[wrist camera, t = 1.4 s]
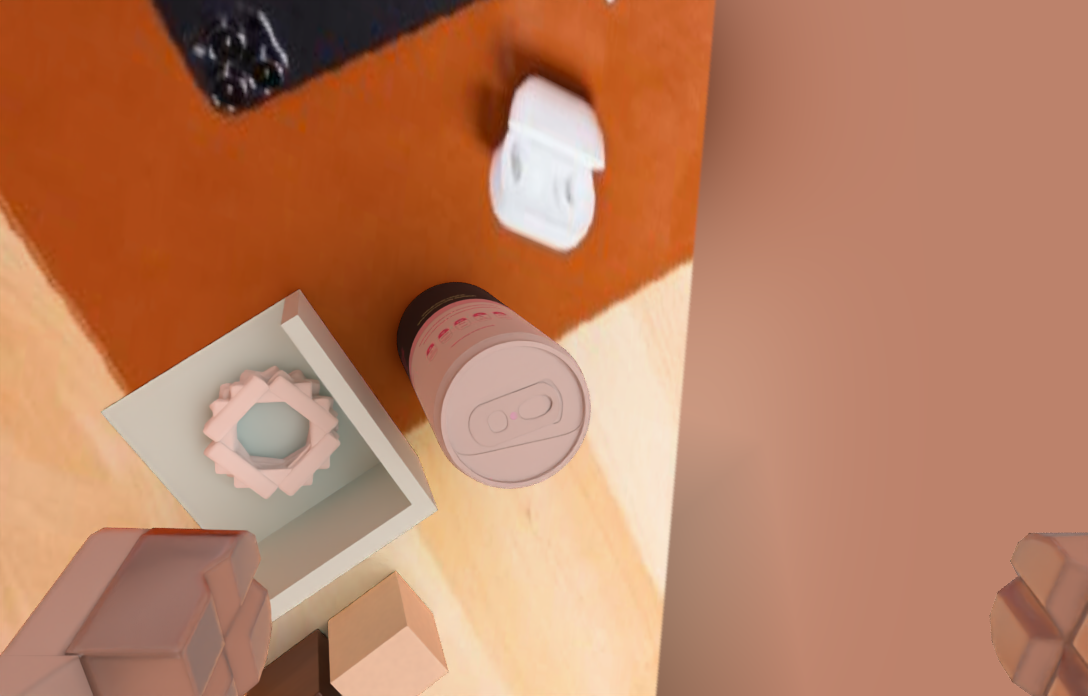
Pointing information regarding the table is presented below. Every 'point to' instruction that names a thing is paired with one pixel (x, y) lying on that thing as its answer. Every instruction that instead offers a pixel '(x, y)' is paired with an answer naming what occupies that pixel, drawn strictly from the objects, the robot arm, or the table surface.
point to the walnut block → (299, 671)
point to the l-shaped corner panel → (280, 449)
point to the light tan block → (385, 643)
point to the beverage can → (492, 386)
